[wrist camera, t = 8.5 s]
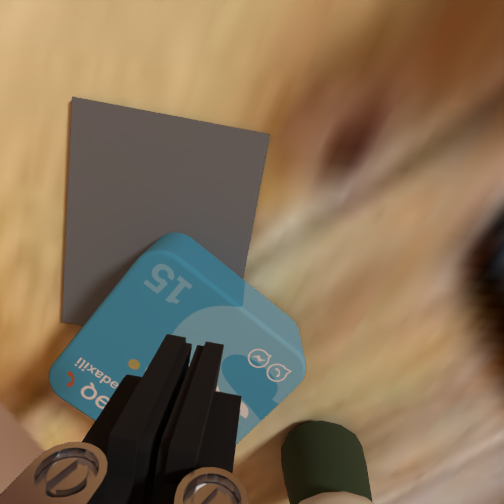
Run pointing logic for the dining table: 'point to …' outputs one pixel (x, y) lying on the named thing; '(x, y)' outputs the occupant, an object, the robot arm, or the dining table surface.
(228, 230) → the mat
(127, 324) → the data package
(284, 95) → the dining table surface
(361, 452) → the character mug
